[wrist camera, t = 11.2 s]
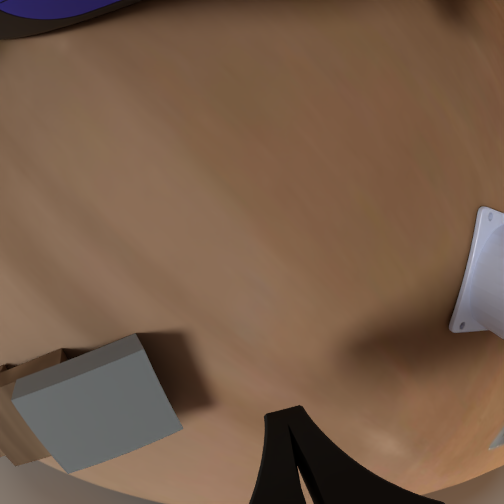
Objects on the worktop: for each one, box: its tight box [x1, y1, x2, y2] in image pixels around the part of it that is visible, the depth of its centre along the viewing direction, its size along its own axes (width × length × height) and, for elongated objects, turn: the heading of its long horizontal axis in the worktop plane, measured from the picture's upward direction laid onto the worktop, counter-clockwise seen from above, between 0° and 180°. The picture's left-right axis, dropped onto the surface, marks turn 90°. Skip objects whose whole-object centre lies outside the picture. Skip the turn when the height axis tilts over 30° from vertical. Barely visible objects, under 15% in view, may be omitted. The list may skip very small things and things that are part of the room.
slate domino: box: [11, 333, 183, 474], centre depth 12 cm, size 2×5×7 cm
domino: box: [0, 348, 68, 466], centre depth 12 cm, size 2×5×7 cm
